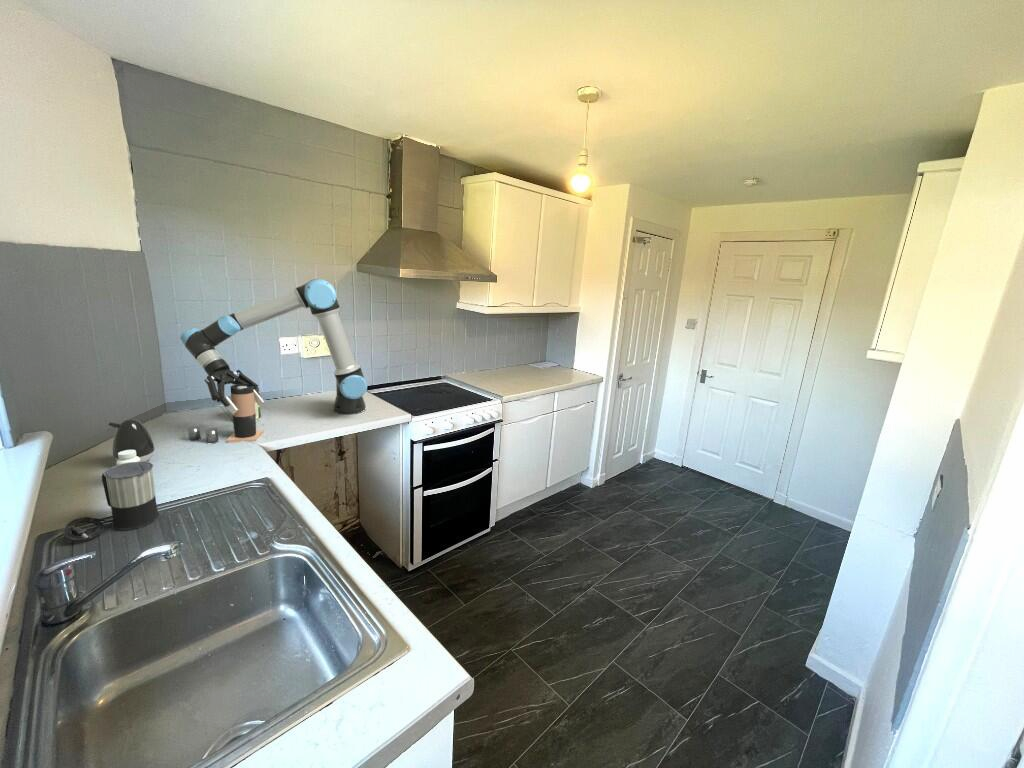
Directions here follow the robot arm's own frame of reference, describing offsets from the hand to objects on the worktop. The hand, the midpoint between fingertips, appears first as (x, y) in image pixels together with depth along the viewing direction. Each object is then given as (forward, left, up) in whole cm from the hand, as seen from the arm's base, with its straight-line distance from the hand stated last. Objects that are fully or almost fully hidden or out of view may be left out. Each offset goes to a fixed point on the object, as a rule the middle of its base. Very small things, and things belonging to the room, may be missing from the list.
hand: (249, 407), depth 160 cm
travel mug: (+2, -1, -12) cm, 12 cm away
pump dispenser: (+28, +20, -13) cm, 37 cm away
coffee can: (+8, -23, -13) cm, 28 cm away
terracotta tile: (+2, -1, -13) cm, 13 cm away
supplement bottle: (+22, +34, -13) cm, 42 cm away
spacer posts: (+12, -6, -13) cm, 19 cm away
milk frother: (+13, +60, -13) cm, 62 cm away
